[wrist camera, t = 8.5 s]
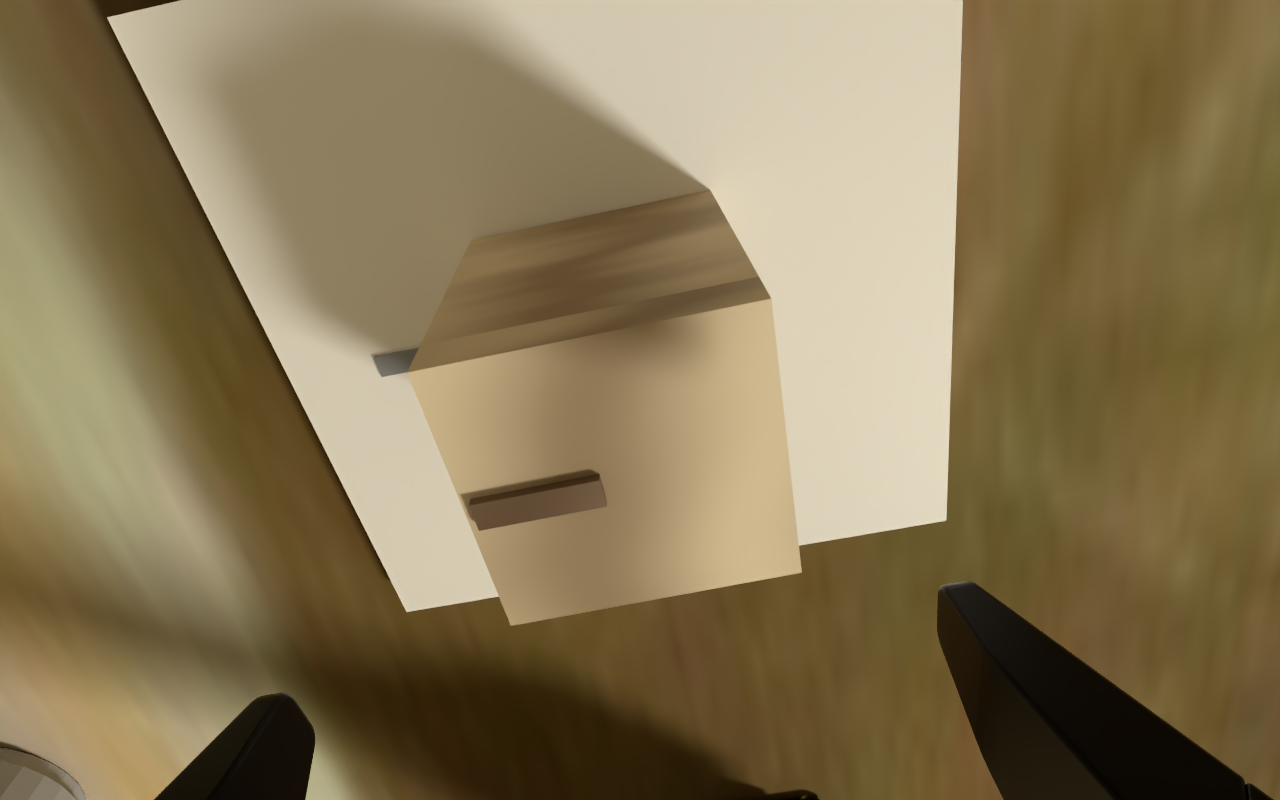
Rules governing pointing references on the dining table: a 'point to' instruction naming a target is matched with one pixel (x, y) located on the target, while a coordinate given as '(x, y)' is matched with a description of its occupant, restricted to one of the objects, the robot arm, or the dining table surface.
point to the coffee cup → (34, 779)
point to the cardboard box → (613, 409)
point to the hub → (578, 209)
